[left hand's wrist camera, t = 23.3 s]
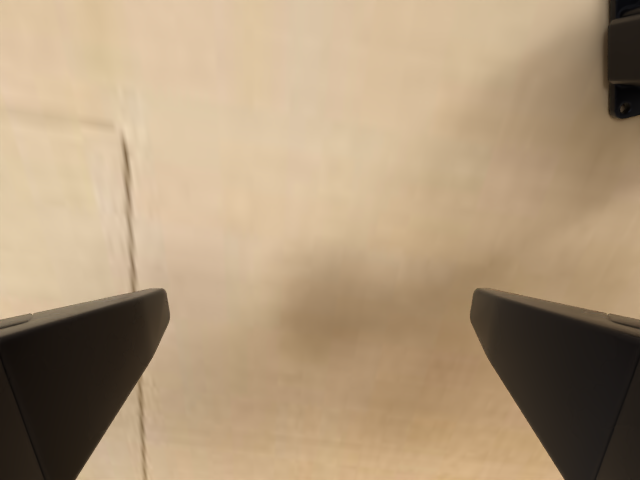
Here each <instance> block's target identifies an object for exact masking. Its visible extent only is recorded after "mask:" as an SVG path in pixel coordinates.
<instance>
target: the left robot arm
mask: <svg viewBox="0 0 640 480" xmlns="http://www.w3.org/2000/svg"><path fill="white" fill-rule="evenodd" d="M608 80H609V81H610V84H609V111H610V115H611V116H612V117H614V118H620V119H624V118H629V117H633V116H637V115H640V0H610V25H609V27H608ZM623 104H625V108H624V110H623V111H622V112H620V108H621V106H622V105H623ZM169 320H170V311H169V305H168V299H167V293H166V291H165V290H164V289H162V288H159V289H146V290H141V291H137V292H132V293H127V294H123V295H118V296H113V297H108V298H104V299H99V300H94V301H90V302H85V303H80V304H75V305H71V306H66V307H61V308H57V309H52V310H47V311H43V312H38V313H34V314H33V315H32V314H26V315H21V316H16V317H11V318H7V319H2V320H0V480H76V478H77V476H78V475H79V473H80V472H81V470H82V469H83V467H84V465H85V464H86V462H87V461H88V459H89V457H90V456H91V454H92V453H93V451H94V450H95V448H96V446H97V445H98V443H99V442H100V440H101V438H102V437H103V435H104V434H105V432H106V431H107V429H108V427H109V426H110V424H111V423H112V421H113V420H114V418H115V416H116V415H117V413H118V412H119V410H120V408H121V407H122V405H123V404H124V402H125V401H126V399H127V397H128V396H129V394H130V393H131V391H132V389H133V388H134V386H135V385H136V383H137V382H138V380H139V378H140V377H141V375H142V374H143V372H144V371H145V369H146V367H147V366H148V364H149V362H150V361H151V359H152V357H153V355H154V353H155V352H156V349H157V347H158V345H159V343H160V341H161V339H162V336H163V334H164V332H165V330H166V328H167V326H168V323H169ZM470 320H471V323H472V326H473V328H474V330H475V332H476V334H477V336H478V339H479V341H480V343H481V345H482V347H483V349H484V352H485V354H486V355H487V357H488V359H489V361H490V363H491V364H492V366H493V367H494V369H495V371H496V372H497V374H498V375H499V377H500V378H501V380H502V382H503V383H504V385H505V386H506V388H507V389H508V391H509V393H510V394H511V396H512V397H513V399H514V401H515V402H516V404H517V405H518V407H519V408H520V410H521V412H522V413H523V415H524V416H525V418H526V419H527V421H528V423H529V424H530V426H531V427H532V429H533V431H534V432H535V434H536V435H537V437H538V438H539V440H540V442H541V443H542V445H543V446H544V448H545V450H546V451H547V453H548V454H549V456H550V457H551V459H552V461H553V462H554V464H555V465H556V467H557V469H558V470H559V472H560V473H561V475H562V476H563V478H564V480H640V320H638V319H633V318H629V317H624V316H619V315H614V314H608V315H607V314H606V313H602V312H598V311H593V310H588V309H584V308H579V307H574V306H569V305H565V304H560V303H555V302H551V301H546V300H541V299H536V298H532V297H527V296H522V295H517V294H513V293H508V292H503V291H499V290H494V289H482V288H478V289H476V290H475V291H474V293H473V299H472V305H471V311H470Z"/></svg>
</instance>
